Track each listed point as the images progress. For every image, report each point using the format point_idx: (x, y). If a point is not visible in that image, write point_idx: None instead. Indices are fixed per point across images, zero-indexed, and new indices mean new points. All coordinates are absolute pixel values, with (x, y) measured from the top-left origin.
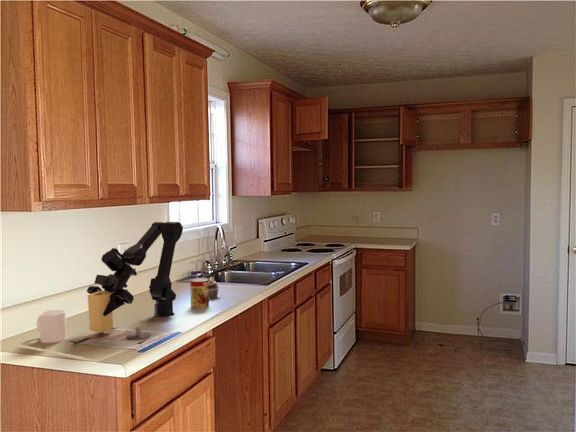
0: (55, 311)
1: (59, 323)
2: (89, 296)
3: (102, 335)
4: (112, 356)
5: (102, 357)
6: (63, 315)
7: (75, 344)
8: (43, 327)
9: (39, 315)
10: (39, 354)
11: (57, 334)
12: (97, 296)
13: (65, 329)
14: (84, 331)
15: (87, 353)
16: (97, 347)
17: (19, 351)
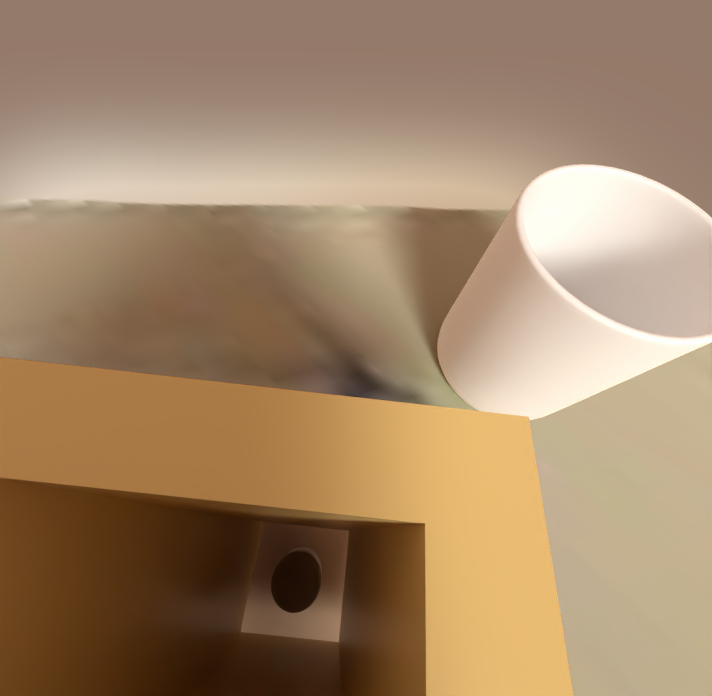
0: (710, 328)
1: (479, 273)
2: (424, 421)
3: (264, 529)
4: (15, 265)
5: (65, 245)
6: (514, 273)
7: (342, 356)
8: (534, 237)
9: (639, 182)
10: (385, 216)
11: (455, 304)
12: (15, 363)
13: (471, 358)
14: None
15: (176, 268)
16: (177, 349)
17: (497, 223)
